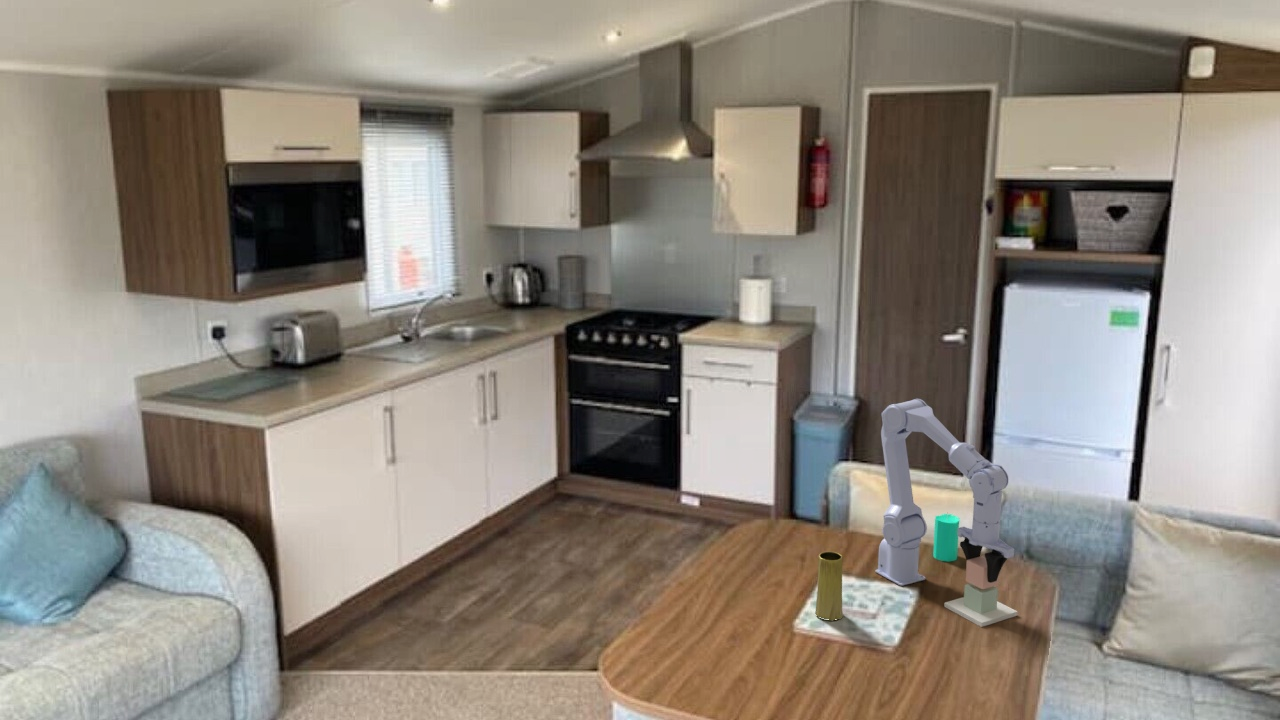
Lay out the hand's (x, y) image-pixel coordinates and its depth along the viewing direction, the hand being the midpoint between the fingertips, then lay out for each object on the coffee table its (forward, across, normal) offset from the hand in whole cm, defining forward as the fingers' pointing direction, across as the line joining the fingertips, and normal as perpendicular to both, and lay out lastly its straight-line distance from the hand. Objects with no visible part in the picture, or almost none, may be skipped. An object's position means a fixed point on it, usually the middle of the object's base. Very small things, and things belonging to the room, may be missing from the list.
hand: (982, 576), depth 215 cm
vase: (+9, -15, -31) cm, 35 cm away
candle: (+9, -26, +15) cm, 31 cm away
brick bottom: (+7, 0, 0) cm, 7 cm away
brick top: (+2, 0, 0) cm, 2 cm away
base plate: (+8, 0, 0) cm, 8 cm away
